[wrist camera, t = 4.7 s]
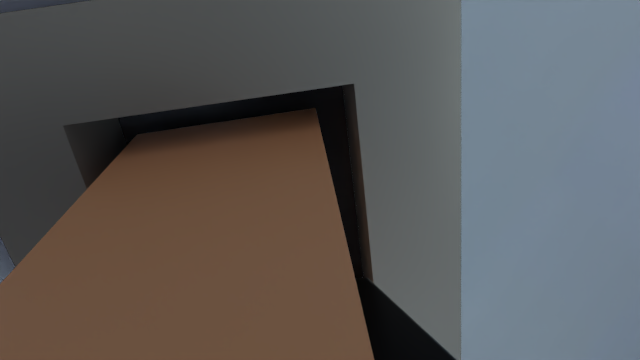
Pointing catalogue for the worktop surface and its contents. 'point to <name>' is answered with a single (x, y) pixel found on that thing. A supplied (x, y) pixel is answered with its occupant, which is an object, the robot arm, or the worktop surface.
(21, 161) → the socket block
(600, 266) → the worktop surface
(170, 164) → the brown wooden tall block
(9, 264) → the worktop surface
